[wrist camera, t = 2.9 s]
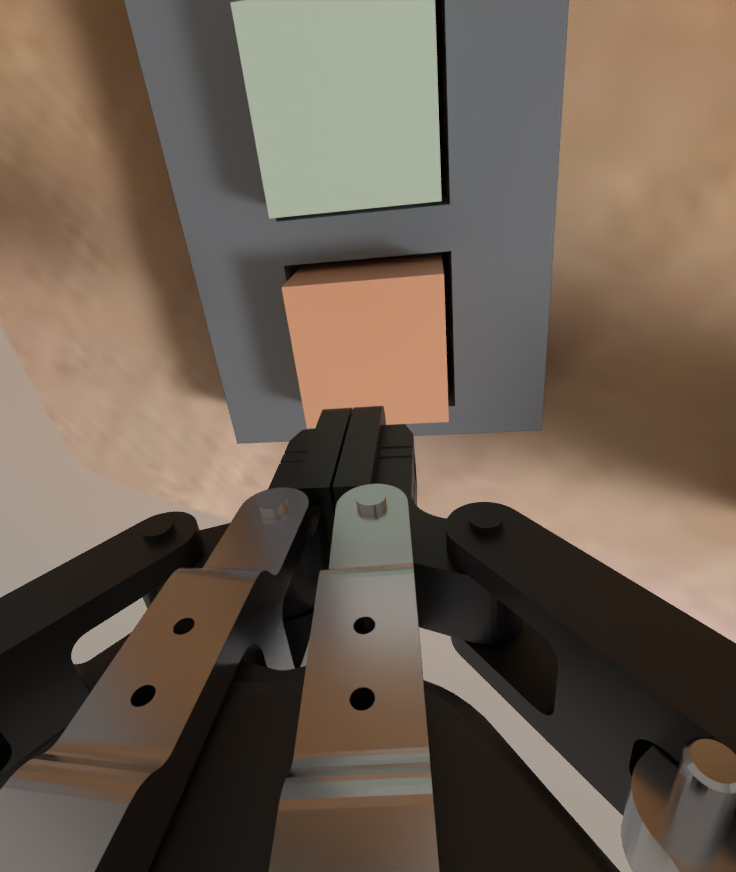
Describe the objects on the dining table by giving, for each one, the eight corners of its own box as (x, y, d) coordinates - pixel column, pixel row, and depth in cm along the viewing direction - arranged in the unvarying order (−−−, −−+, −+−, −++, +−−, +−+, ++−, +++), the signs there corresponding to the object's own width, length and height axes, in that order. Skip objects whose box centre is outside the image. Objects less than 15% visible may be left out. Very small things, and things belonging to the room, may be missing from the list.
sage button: (264, 25, 16) (230, 2, 13) (432, 0, 15) (434, -30, 12) (292, 206, 18) (269, 218, 16) (439, 190, 18) (441, 201, 15)
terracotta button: (302, 265, 19) (281, 287, 16) (441, 252, 19) (444, 273, 16) (321, 390, 22) (306, 428, 19) (445, 384, 21) (448, 421, 18)
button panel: (84, -355, 14) (3, -471, 11) (570, -482, 12) (610, -651, 9) (257, 410, 24) (237, 443, 22) (528, 396, 23) (541, 430, 20)
